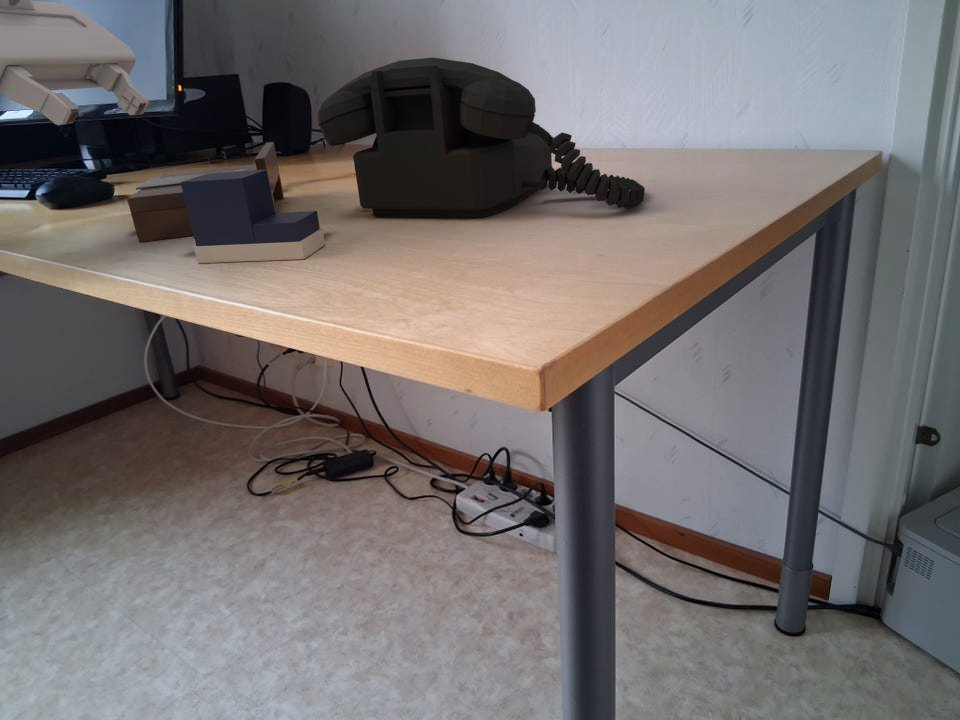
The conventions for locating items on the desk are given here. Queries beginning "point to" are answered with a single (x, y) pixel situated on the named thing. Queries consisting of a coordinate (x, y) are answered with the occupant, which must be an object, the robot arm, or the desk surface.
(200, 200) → the trainer
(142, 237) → the shoe shelf
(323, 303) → the desk surface
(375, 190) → the rotary telephone
